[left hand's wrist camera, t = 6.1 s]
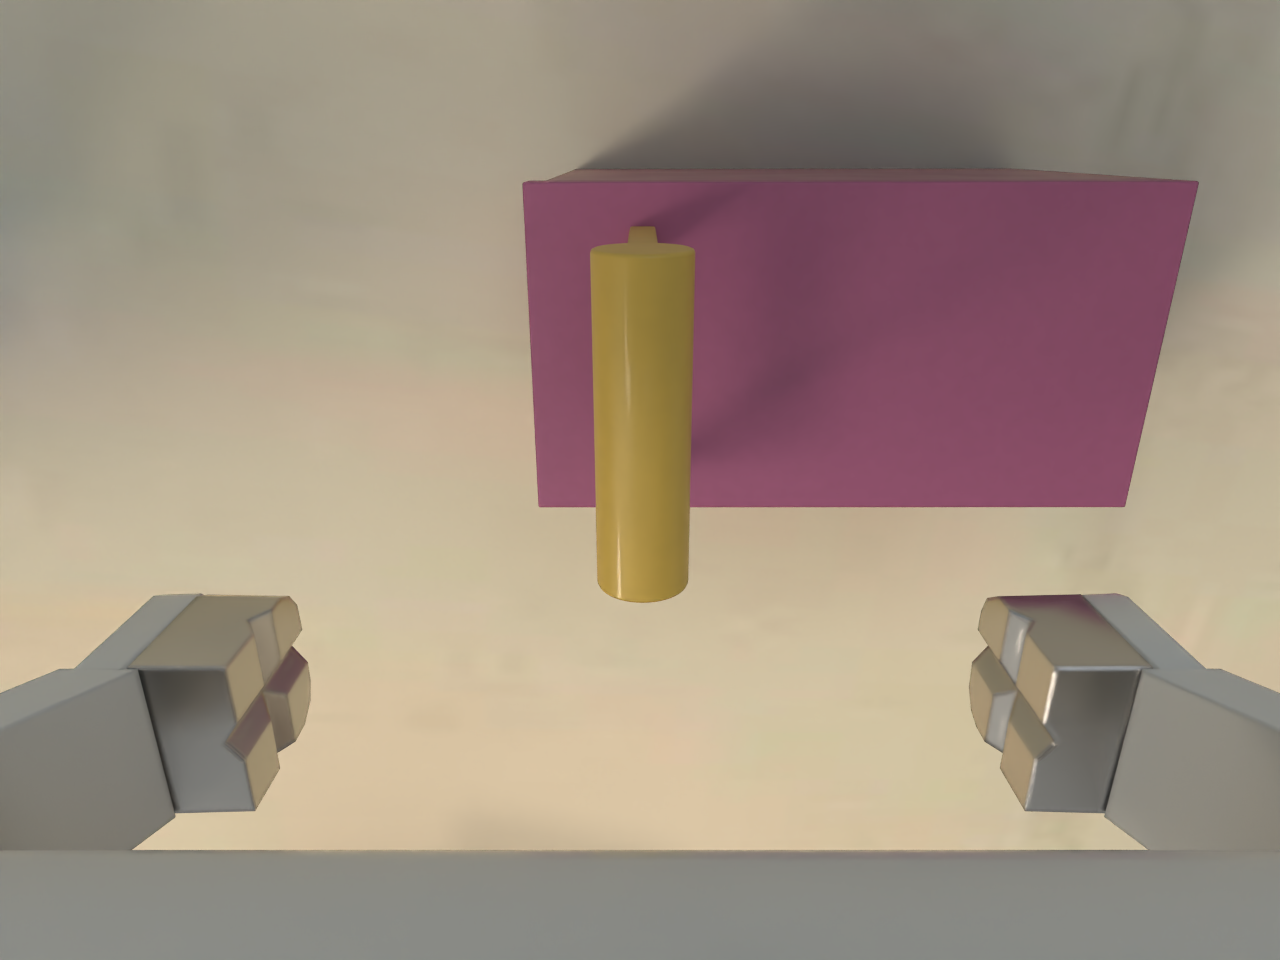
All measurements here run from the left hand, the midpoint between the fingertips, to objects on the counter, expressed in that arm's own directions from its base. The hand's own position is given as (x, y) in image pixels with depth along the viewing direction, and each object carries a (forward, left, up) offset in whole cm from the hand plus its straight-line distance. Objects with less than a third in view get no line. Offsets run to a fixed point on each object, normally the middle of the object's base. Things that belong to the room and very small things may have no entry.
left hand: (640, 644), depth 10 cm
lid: (+2, -5, -16) cm, 17 cm away
